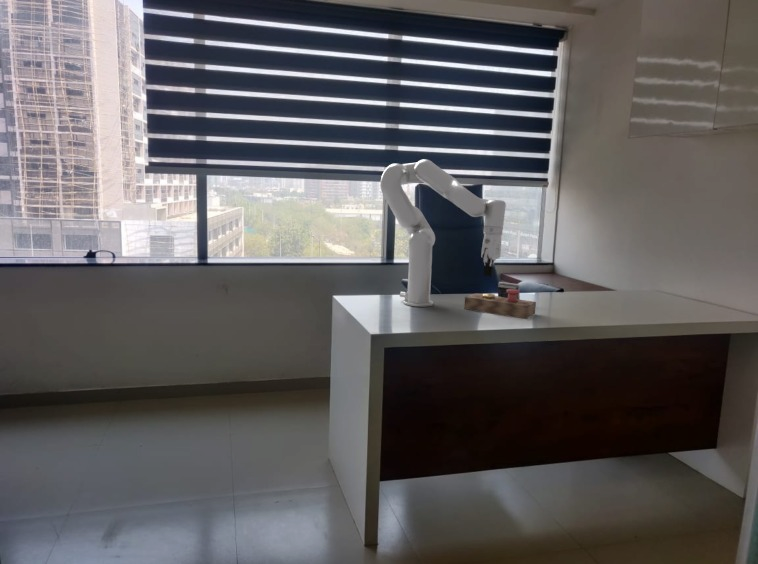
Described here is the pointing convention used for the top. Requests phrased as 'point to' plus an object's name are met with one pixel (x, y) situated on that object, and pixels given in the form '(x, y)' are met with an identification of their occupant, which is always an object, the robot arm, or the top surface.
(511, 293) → the oxblood plug
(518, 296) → the electrical switch
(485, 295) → the brass plug
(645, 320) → the top surface
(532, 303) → the plug block
